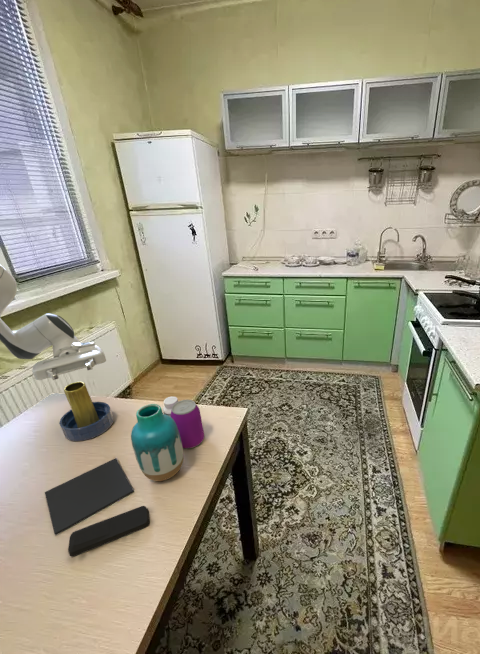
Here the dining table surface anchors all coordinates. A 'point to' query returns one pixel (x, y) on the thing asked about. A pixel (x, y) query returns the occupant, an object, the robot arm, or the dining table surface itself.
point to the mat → (86, 495)
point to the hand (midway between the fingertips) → (72, 372)
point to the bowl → (91, 430)
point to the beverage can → (188, 423)
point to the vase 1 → (81, 404)
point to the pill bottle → (169, 405)
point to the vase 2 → (156, 443)
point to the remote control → (108, 530)
